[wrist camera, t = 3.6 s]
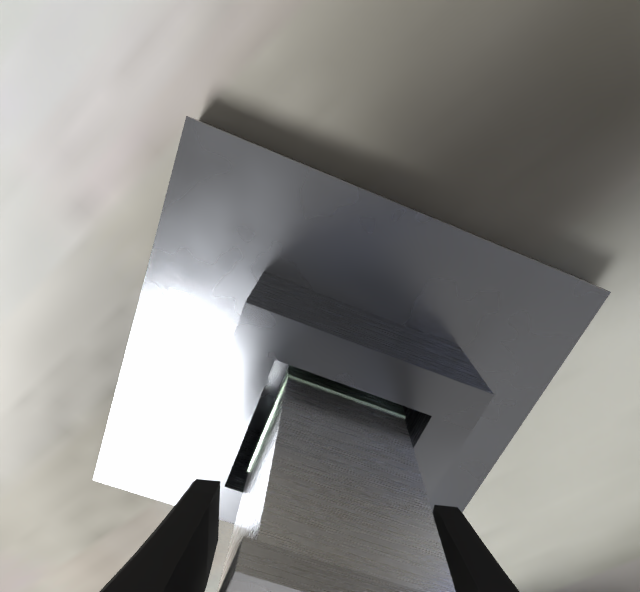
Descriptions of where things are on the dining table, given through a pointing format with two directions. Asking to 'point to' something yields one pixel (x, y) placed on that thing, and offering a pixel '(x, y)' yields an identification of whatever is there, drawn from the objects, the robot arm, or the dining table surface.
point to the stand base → (324, 324)
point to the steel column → (334, 499)
